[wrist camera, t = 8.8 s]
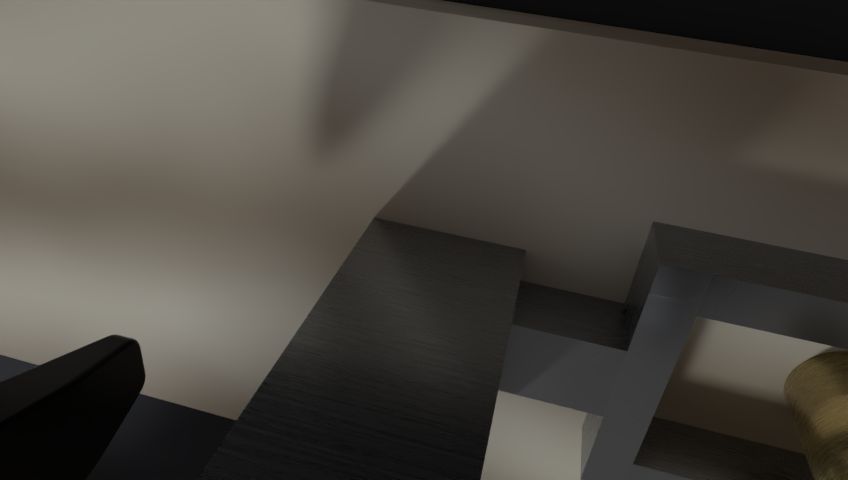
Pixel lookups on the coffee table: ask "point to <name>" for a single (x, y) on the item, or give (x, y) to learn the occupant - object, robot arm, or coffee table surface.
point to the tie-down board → (392, 181)
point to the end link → (518, 359)
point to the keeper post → (821, 412)
